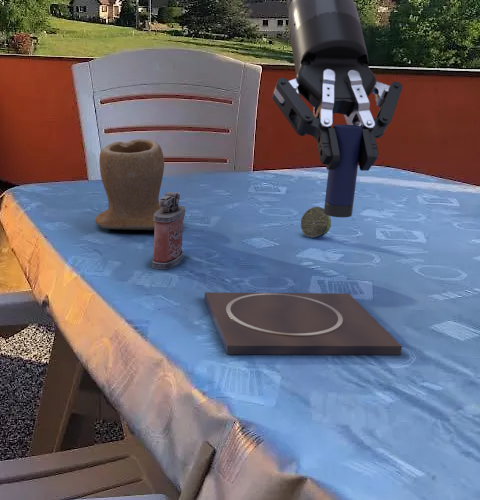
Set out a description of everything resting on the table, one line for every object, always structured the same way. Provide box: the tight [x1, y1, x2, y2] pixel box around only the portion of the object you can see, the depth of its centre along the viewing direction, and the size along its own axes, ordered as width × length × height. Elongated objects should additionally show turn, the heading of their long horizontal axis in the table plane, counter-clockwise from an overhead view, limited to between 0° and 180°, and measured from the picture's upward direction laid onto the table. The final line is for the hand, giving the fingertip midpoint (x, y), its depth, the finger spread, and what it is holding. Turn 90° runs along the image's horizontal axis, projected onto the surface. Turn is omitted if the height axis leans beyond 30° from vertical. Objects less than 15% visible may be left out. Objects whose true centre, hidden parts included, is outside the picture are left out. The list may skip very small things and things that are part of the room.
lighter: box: [151, 191, 186, 270], centre depth 101 cm, size 8×3×10 cm, turn 159°
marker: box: [323, 124, 363, 218], centre depth 71 cm, size 3×3×9 cm
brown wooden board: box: [203, 291, 403, 356], centre depth 80 cm, size 18×16×1 cm
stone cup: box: [95, 138, 186, 231], centre depth 117 cm, size 15×12×15 cm
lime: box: [300, 206, 332, 238], centre depth 117 cm, size 4×5×5 cm
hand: (351, 165), depth 69 cm, fingers closed on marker, 2 cm apart
